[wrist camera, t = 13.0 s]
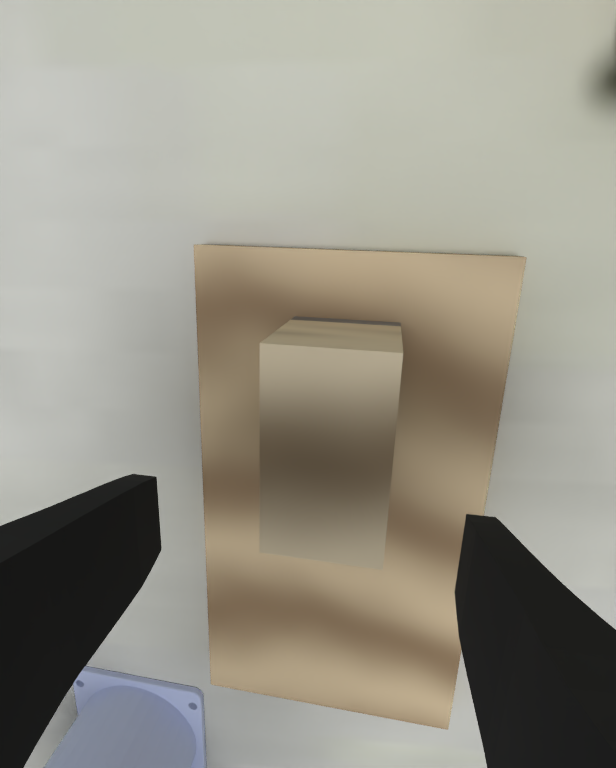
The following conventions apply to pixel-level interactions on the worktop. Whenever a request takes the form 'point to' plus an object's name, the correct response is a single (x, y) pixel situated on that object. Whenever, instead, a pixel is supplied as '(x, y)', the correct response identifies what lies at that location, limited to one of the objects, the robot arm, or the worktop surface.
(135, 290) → the worktop surface
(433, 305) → the board
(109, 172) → the worktop surface
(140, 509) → the robot arm
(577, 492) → the worktop surface
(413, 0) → the worktop surface
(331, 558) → the block
